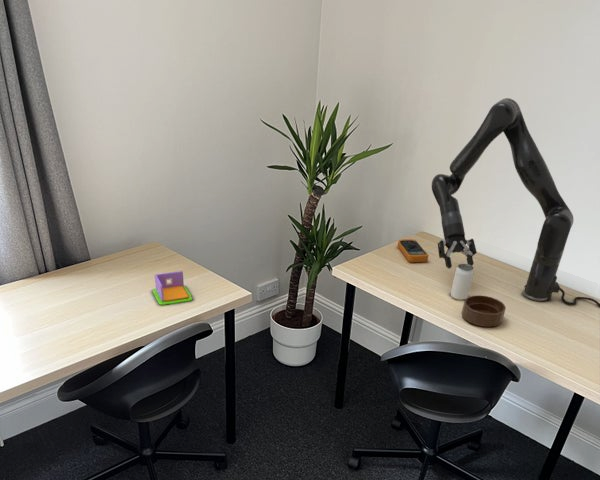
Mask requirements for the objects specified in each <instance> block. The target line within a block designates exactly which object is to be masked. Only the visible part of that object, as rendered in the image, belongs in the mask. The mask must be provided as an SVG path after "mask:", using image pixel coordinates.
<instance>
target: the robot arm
mask: <svg viewBox="0 0 600 480" xmlns="http://www.w3.org/2000/svg"><path fill="white" fill-rule="evenodd" d="M502 133H503V134H504V136H505V137H506V139H507V141H508V144H509V146H510V151H511V156H512V161H513V164H514V168H515V171H516V173H517V175H518V177H519V179H520V181H521V183H522V184H523V186H524V187H525V189H526V190H527V192H529V193H530V195H532V196H533V197H534V199H535V200H536V201H537V202H538V204H539V205H540V208H541V210H542V212H543V215H544V218H545V219H544V221H543V224H542V227H541V230H540V234H539V238H538V241H537V245H536V250H535V253H534V257H533V259H532V263H531V266H530V270H529V273H528V277H527V280H526V284H525V285H524V286H523V292H522V294H523V296H524V297H525V298H527V299H528V300H531V301H536V302H546V301H550V300H551V298H552V294H553V293H555V294H556V293H559V292H561V297H560V298H561V301H562V303H564V304H566V305H571V306H573V305H574V306H575V305H576V304H577V300H586V301H591V302H592V303H594V304H596V305H597V306H598V307H599V308H600V302H599V301H598V300H596V299H594V298H591V297H587V296H576V297H574V298H573V302H572V301H568V300H566V299H565V298H564V297H565V294H566V292H565V290H563V289H562V288H561V286H560V284H559V282H558V281H557V279H558V276H557V272H558V269H559V266H560V264H561V261H562V257H563V254H564V251H565V248H566V244H567V241H568V238H569V235H570V231H571V229H572V227H573V225H574V220H575V219H574V214H573V213H572V211H571V209H570V207H569V206H568V205H567V203H566V202H565V200H564V199H563V197H562V196H561V194H560V192H559V190H558V188H557V186H556V182H555V180H554V179H553V176H552V173H551V171H550V169H549V167H548V165H547V163H546V161H545V159H544V156H543V155H542V154H541V151H540V150H539V147H538V145H537V143H536V142H535V139H534V138H533V137H532V135H531V133H530V131H529V129H528V126H527V123H526V121H525V118H524V115H523V113H522V110H521V107H520V105H519V103H518V102H517V101H516V100H514V99H512V98H509V97H505V98H502V99H501V100H499V101H497V102H496V103H494V104H493V105H492V106H491V107H490V109H489V111H488V112H487V114H486V116H485V118H484V119H483V121H482V123H481V124H480V126H479V128H478V129H477V131H476V132H475V133H474V135H473V136H472V137H471V139H470V140H469V141H468V142H467V143H466V144H465V146H464V147H463V148H462V149H461V150H460V152H458V153H457V155H456V157H454V159H453V160H452V161H451V162H450V164H449V171H450V173H451V174H450V175H448V174H443V173H438V174H436V175H435V176H434V177H433V178H432V181H431V192H432V194H433V197H434V199H435V201H436V203H437V205H438V207H439V211H440V218H441V228H442V233H443V239H444V240H443V239H441V240H440V241H438V242H437V249H438V257H439V258H440V259H443V260H444V262H445V267H446V268H447V269H451V268H453V264H452V259H451V257H450V256H451V255H452V253H453V254H454V253H461V254H462V255H464V256H465V257H466V262H467V263H466V264H468V265H471V266H473V265H474V259H473V258H474V256H475V255H476V254H477V248H476V244H475V240H474V238H470V239H466V232H465V228H464V223H463V217H462V215H461V210H460V206H459V205H460V204H459V200H458V199H457V198H456V197H454V194H456V193H457V192H458V191H459V190H460V188H461V186H462V184H463V183H464V180H465V177H466V175H467V174H468V173H469V172H470V171H471V169H472V168H473V167H474V166H475V165H476V163H477V162H478V161H479V159H480V158H481V157H482V155H483V154H484V152H485V151H486V149H487V148H488V147H489V146H490V144H491V143H492V142H494V140H495V139H496V138H497V137H499V136H500V135H501V134H502ZM445 247H446V248H447V250H446V251H445Z"/></svg>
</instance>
